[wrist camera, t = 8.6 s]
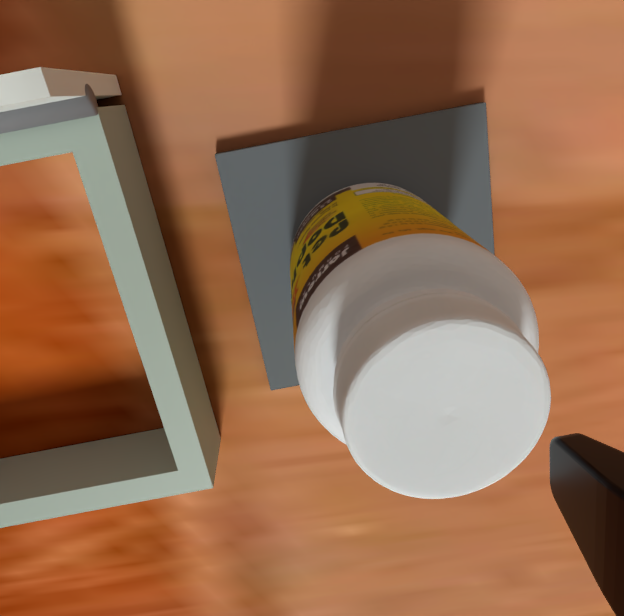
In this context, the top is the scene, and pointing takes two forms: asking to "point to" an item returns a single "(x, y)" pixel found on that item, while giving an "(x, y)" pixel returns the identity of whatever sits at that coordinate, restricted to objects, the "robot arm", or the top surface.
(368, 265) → the supplement bottle
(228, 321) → the top surface
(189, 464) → the drawer
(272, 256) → the mat
